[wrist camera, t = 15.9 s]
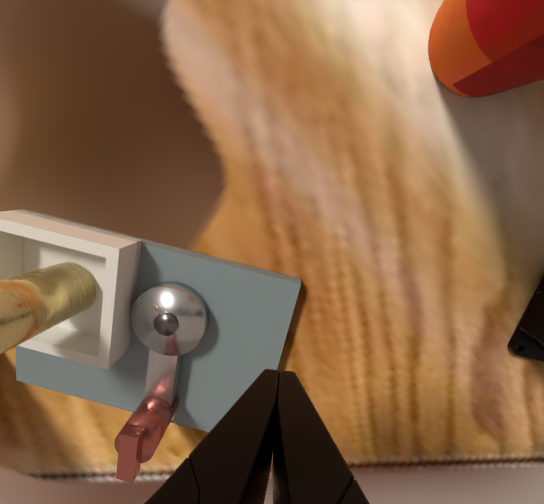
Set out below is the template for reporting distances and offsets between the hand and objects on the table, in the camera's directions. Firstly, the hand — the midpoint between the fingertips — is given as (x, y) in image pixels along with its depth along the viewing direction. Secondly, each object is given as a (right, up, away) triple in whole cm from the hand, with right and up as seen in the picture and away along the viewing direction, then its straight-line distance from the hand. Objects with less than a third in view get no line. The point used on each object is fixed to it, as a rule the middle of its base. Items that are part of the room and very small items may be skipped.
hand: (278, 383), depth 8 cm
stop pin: (-14, +1, +12) cm, 18 cm away
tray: (-14, +2, +12) cm, 19 cm away
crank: (-8, -4, +13) cm, 16 cm away
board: (-9, -2, +14) cm, 17 cm away
